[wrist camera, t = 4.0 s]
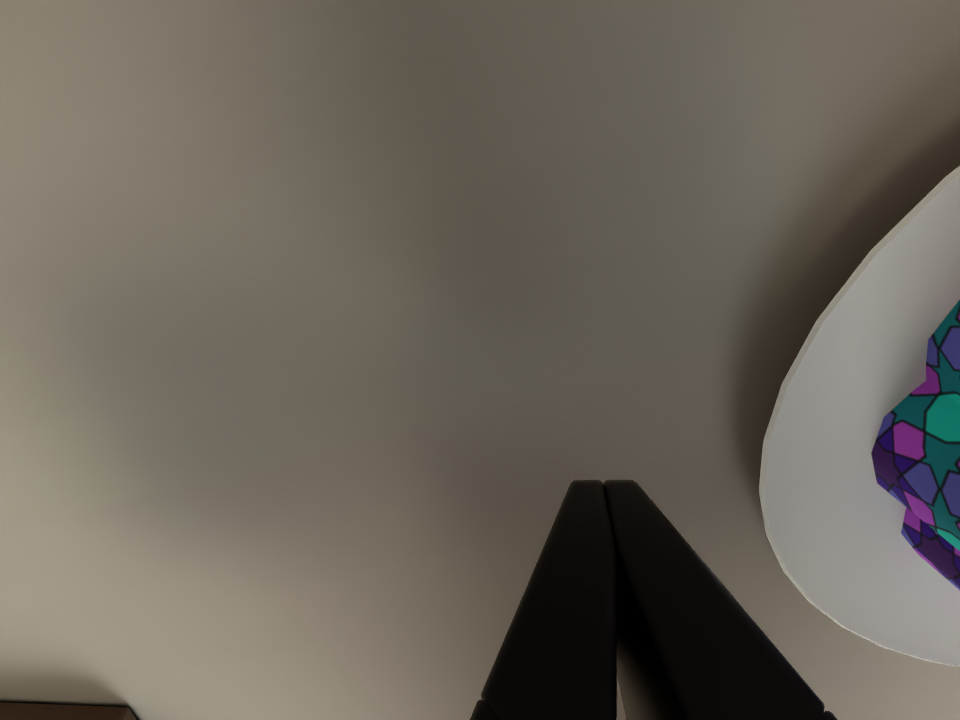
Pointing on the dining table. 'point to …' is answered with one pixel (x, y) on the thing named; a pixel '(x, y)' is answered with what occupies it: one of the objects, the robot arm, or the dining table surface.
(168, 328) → the dining table surface
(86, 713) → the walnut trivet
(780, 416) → the pudding
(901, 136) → the dining table surface
